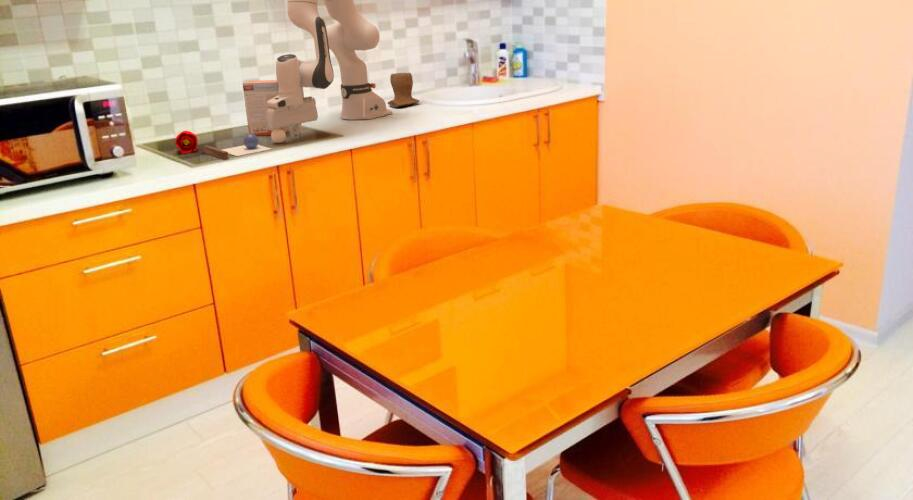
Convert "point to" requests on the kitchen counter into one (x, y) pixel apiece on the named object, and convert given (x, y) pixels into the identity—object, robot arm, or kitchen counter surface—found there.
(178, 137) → the flower
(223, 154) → the rail
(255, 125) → the cracker box
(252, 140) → the navy ball
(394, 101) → the brown flared piece
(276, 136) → the cue ball
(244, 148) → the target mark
